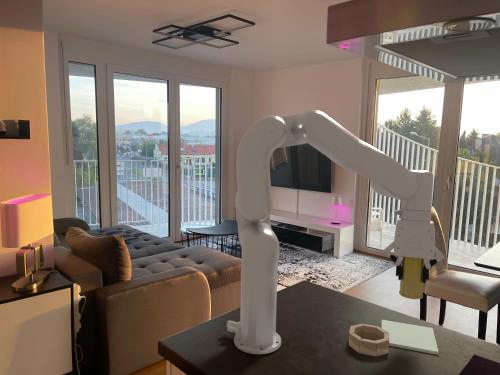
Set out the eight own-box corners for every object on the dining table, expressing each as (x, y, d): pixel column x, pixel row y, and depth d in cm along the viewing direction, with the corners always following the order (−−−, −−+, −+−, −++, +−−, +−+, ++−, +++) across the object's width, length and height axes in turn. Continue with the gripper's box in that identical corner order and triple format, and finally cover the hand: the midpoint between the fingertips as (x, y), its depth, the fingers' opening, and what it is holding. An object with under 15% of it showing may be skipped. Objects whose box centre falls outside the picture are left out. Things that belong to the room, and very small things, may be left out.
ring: (347, 350, 97) (348, 337, 97) (351, 333, 106) (351, 321, 106) (388, 359, 93) (389, 345, 93) (388, 340, 103) (389, 328, 102)
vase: (418, 291, 106) (421, 242, 105) (426, 300, 100) (429, 248, 99) (396, 290, 107) (398, 241, 106) (402, 299, 101) (405, 247, 99)
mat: (380, 344, 101) (380, 341, 101) (381, 322, 114) (381, 319, 114) (438, 354, 96) (438, 351, 96) (432, 330, 109) (432, 328, 109)
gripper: (381, 215, 101) (378, 280, 103) (453, 220, 95) (448, 289, 97) (382, 211, 108) (379, 272, 110) (448, 215, 102) (444, 280, 104)
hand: (411, 279), depth 103 cm, fingers closed on vase, 5 cm apart
